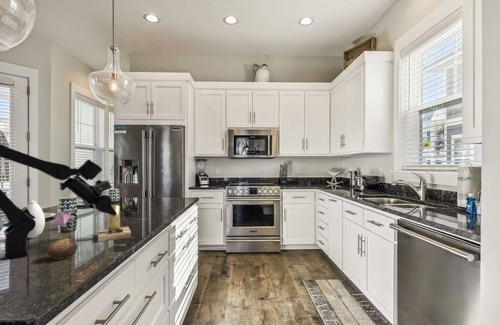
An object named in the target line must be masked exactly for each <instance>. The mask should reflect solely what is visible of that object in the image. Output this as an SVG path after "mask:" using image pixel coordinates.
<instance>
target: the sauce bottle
mask: <svg viewBox="0 0 500 325" xmlns="http://www.w3.org/2000/svg"><path fill="white" fill-rule="evenodd" d="M25 207H26V208H27V209H28V210H29V212H30V214H32V215H34V216H35V217H36V218H33V219H34V220H35V222H36V225H35V227H34V229H33V230H32V231H30V232H29V234H28V236H27V239H36V237H39V235H41V234H42V232H43V231H44V228H45V224H46V218H45V214H44V211H43V209H42V206H40V204H38V203H37V200H34V195H33V194H32V196H31V201H28V204H27V205H26V206H25Z"/></svg>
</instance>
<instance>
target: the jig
mask: <svg viewBox="0 0 500 325" xmlns="http://www.w3.org/2000/svg"><path fill="white" fill-rule="evenodd" d="M97 232H98V233H97V242H98V243H102V242H107V241H115V240H122V239H129V238H132V231H131V229H130V228H129V226H120V233H112V234H108V228H104V229H98V231H97Z"/></svg>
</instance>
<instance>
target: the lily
mask: <svg viewBox="0 0 500 325" xmlns="http://www.w3.org/2000/svg"><path fill="white" fill-rule="evenodd" d="M72 213H73V210H70V211H68V212H67V213H65V212H63V211H60V210H59V211H57V213H56V215H55V216H56V217H55V218H54V219H52V220H50V221H49V222H48V223H49V224H51V226H50V228H49V230H50V231H51V230H53V229H55V228H57V227H59V226H61V227H63V228H66V229H67V230H69V228H68V226H67V222H68V221H71V220H72V219H74V218H76V216H75V215H71V214H72Z"/></svg>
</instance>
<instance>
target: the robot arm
mask: <svg viewBox="0 0 500 325" xmlns="http://www.w3.org/2000/svg"><path fill="white" fill-rule="evenodd" d="M0 158H2V159H5V160H8V161H11V162H15V163H17V164H20V165H23V166H26V167H29V168H32V169H35V170H38V171H40V172H42V173H44V174H45V175H47V176H48V177H51V178H53V179H54V180H58V181H59V180H60V181H64V182H58V183H59V184H58V185H59V190H60V191H65V190H66V189H68V190H70V192H72V193H73V194H75V196H76V197H78V198H79V199H81V200H82V204H83V205H84V206H86V207H88V208H90V209H94V210H97V211H98V212H101V213H104V214H107V215H108V214H111V215H114V216H115V215H116V214H117V213H116V212H115V210H114V209H113V207H112V206H111V205H112V204H111V203H112V199H113V198H112V197H110V196H109V194H108V195H107V194H103V192H105V191H107V190H110V189H112V185H111V183H110V181H109V180H101V179H98V180H96V181H95V184H94V185H91V184H89V183H87V182H86V181H92V180H94V178H96V177H97V176H98V175H99V174H100V173H101V172H103V168H102V167H101V166H100V165H99V164H96V163H95V162H94V161H92V160H91V159H86V160H85V161H84V162H83V163H82V164H81V165H80V166H79V167H73V168H71V167H70V166H69V165H67V164H63V163H62V164H61V163H57V162H52V161H47V160H43V159H41V158H38V157H35V156H32V155H29V154H27V153H25V152H21V151H18V150H15V149H13V148H10V147H8V146H5V145H4V144H0ZM71 176H73V177H71ZM0 211H1V212H3V214H4V215H5V217H6V218H7V220H8V221H9V224H10V225H9V226H8V227H7V228H5V229H4V231H3V234H4V236H5V238H4V254H3V256H2V257H0V260H2V261H3V260H8V259H17V258H22V257H27V256H28V255H29V254H30V252H31V249H28V237H27V236H28V234H29V232H30V231H32V230H33V229H34V227H35V225H36V222H35V220H34V219H33V218H36V217H35V216H34V215H32V214H30V212H29V210H28V209H27V208H26V206H24V207H23V208H20V207H19V206H18V205H16V204H15V203H14V202H13V201H12V200H11V199H10V198H9V196H7V194H5V192H4V191H3V190H2V189H1V188H0Z"/></svg>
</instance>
